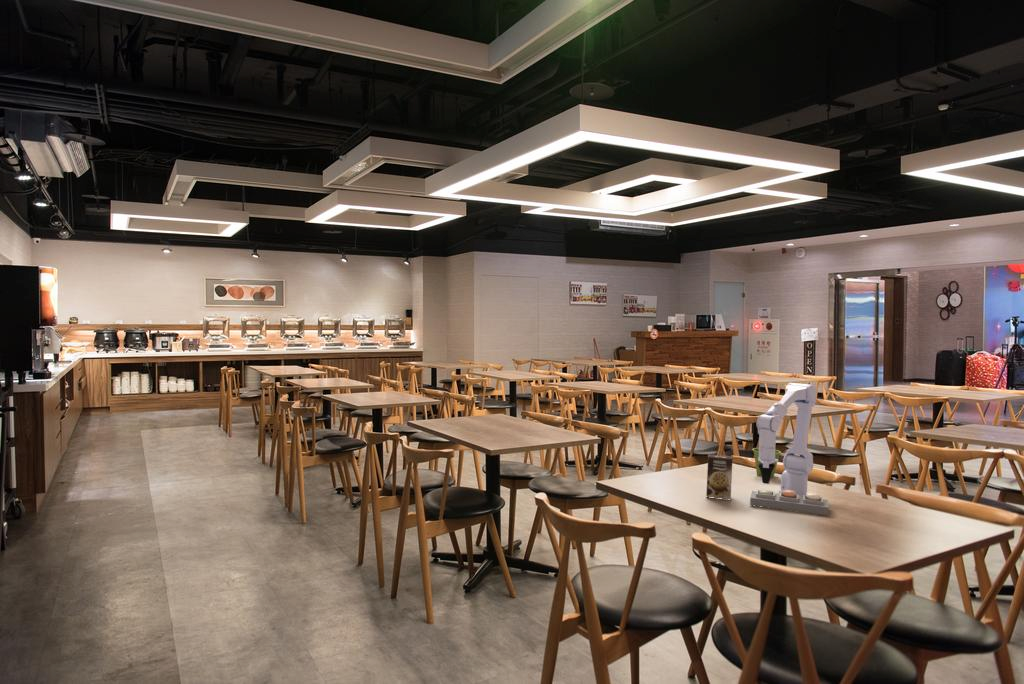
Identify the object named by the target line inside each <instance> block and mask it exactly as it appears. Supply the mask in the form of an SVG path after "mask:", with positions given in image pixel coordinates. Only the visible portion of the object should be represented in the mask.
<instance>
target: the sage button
mask: <svg viewBox="0 0 1024 684" xmlns="http://www.w3.org/2000/svg"><path fill="white" fill-rule="evenodd" d="M758 490H759V494H766V495H772V491H773V490H770V489H769V490H768V489H758Z"/></svg>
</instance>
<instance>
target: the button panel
mask: <svg viewBox="0 0 1024 684" xmlns="http://www.w3.org/2000/svg"><path fill="white" fill-rule="evenodd" d="M759 490H760V489H756V490H751V494H750V497H749V498H750V499H749V506H750V505H755V506H762V507H761V508H763V507H769V508H768V509H771V508H776V509H775V510H778V509H782V510H781V511H786V510H791V511H790V512H794V511H798V512H797V513H802V512H805V513H804V514H809V513H812V514H811V515H817V514H821V515H820V516H825V515H828V516H827V517H829V515H830V506H829V501H828V500H829V499H825V498H823V497H822V496H820V500H811V499H807V498H806V495H803V497H800V496H798V494H796V496H795V497H786V496H783V493H782V492H779V493H776V491H773V490H771V491H772V495H766V494H759ZM755 506H754V507H755Z"/></svg>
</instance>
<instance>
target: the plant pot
mask: <svg viewBox="0 0 1024 684" xmlns="http://www.w3.org/2000/svg"><path fill="white" fill-rule="evenodd" d="M751 450H752V451H753V455H754V460H755V461H754V462H755V471H756V474H757V476H759V475H760V476H759V477H762V475H761V471H760V468H759V466H758V464H759V463H761V462H760V461H758V458H759V447H754V448H752V449H751ZM781 453H782V451H780V450H779V449H775V459H778V460H779V458H780V455H781ZM773 464H775V467H774V469H773V471H772V473H771V477H770V478H773V477H775V474H776V469H777V464H778V462H774V463H773Z"/></svg>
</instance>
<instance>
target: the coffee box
mask: <svg viewBox="0 0 1024 684" xmlns="http://www.w3.org/2000/svg"><path fill="white" fill-rule="evenodd" d="M706 475H707V476H706V493H705V495H706V496H707V497H714V498H722V499H730V500H732V483H733V482H732V479H733V456H732V455H721V454H712V453H709V454H707V474H706ZM706 496H705V497H706Z"/></svg>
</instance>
